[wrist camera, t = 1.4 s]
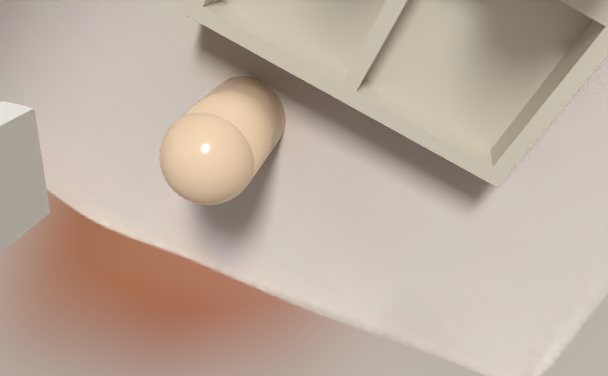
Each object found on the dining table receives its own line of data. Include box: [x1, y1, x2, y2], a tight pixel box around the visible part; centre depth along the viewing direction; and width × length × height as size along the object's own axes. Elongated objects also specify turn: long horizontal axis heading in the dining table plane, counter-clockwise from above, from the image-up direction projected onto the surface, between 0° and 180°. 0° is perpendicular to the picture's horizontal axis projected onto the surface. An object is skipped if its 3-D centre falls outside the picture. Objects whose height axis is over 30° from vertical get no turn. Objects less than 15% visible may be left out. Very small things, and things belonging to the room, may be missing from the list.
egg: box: [160, 77, 286, 205], centre depth 27 cm, size 5×5×8 cm
